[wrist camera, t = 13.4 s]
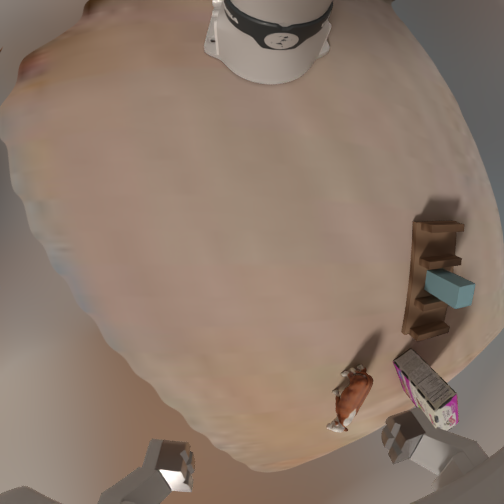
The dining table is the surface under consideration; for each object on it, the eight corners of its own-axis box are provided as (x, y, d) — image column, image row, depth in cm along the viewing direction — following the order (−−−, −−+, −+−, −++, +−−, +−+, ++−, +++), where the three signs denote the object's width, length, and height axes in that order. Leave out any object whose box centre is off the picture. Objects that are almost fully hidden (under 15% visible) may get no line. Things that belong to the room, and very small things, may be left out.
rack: (412, 221, 39) (427, 225, 35) (452, 220, 39) (467, 224, 35) (401, 332, 43) (412, 342, 39) (440, 322, 43) (451, 331, 39)
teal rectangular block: (426, 270, 40) (459, 287, 31) (442, 268, 40) (475, 283, 31) (424, 289, 40) (455, 309, 32) (440, 287, 40) (471, 305, 32)
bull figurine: (316, 408, 46) (325, 437, 38) (349, 355, 44) (366, 383, 36) (334, 410, 47) (345, 438, 39) (368, 359, 44) (386, 385, 36)
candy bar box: (421, 377, 46) (459, 422, 30) (403, 390, 47) (438, 439, 31) (412, 345, 44) (458, 393, 28) (391, 360, 45) (433, 413, 29)
